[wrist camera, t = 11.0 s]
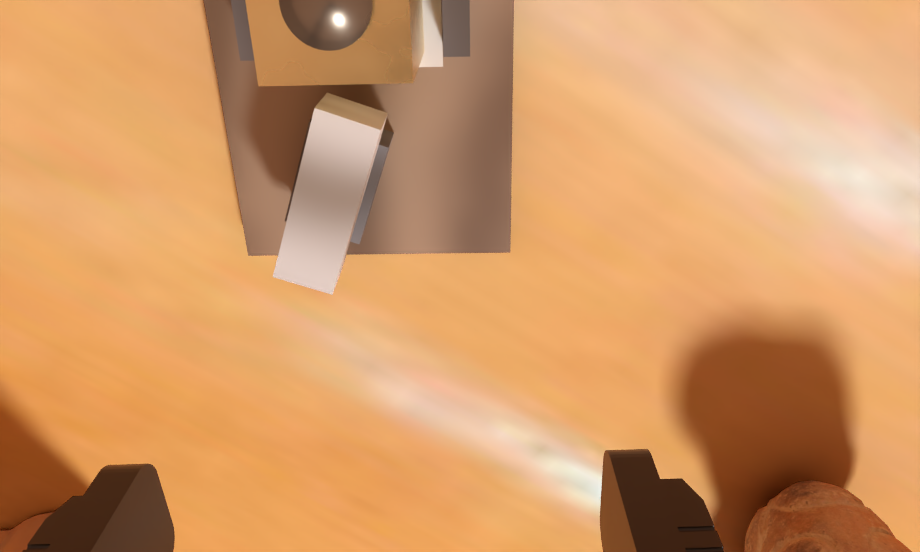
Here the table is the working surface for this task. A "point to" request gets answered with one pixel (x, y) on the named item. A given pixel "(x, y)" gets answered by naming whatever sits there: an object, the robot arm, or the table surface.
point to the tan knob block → (336, 41)
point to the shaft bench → (425, 152)
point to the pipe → (818, 523)
